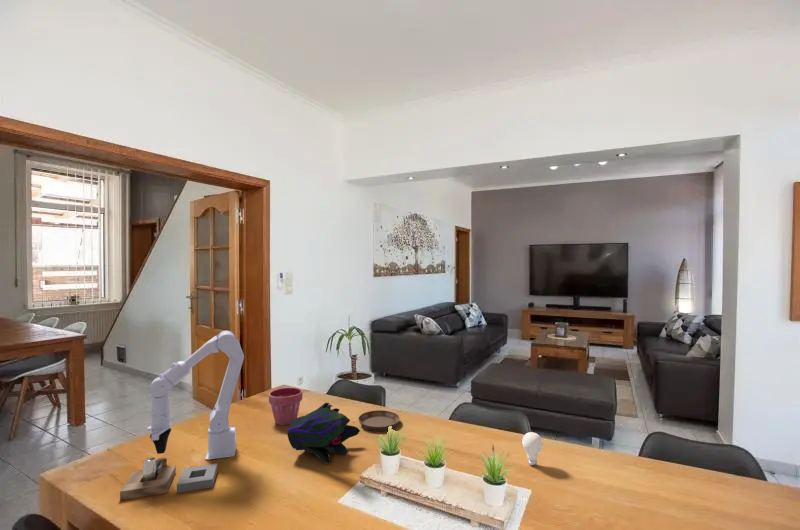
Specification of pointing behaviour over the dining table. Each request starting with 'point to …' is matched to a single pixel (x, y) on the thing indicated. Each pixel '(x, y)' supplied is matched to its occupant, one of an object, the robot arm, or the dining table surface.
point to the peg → (149, 470)
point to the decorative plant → (321, 432)
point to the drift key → (160, 463)
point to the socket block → (147, 483)
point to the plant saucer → (378, 420)
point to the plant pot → (285, 404)
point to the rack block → (197, 478)
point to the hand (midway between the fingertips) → (161, 452)
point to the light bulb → (532, 446)
